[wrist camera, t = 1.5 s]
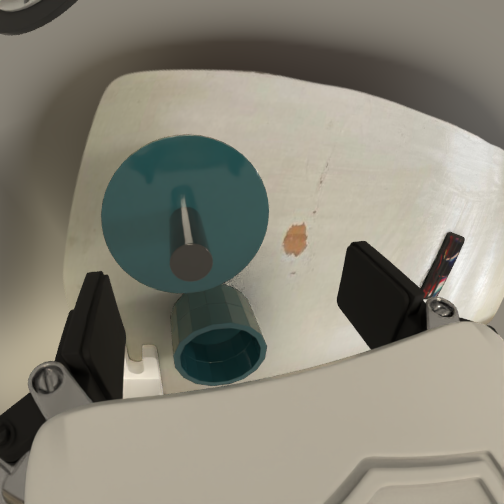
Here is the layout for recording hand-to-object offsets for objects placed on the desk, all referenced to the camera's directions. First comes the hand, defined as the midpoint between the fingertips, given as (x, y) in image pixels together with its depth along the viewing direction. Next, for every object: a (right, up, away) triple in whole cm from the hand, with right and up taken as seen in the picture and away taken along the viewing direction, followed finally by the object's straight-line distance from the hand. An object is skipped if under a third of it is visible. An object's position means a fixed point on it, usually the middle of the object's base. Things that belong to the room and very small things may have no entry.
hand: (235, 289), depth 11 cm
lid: (-4, +4, +11) cm, 12 cm away
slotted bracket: (-18, -18, +33) cm, 42 cm away
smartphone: (+39, -2, +40) cm, 56 cm away
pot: (-5, -8, +31) cm, 32 cm away
